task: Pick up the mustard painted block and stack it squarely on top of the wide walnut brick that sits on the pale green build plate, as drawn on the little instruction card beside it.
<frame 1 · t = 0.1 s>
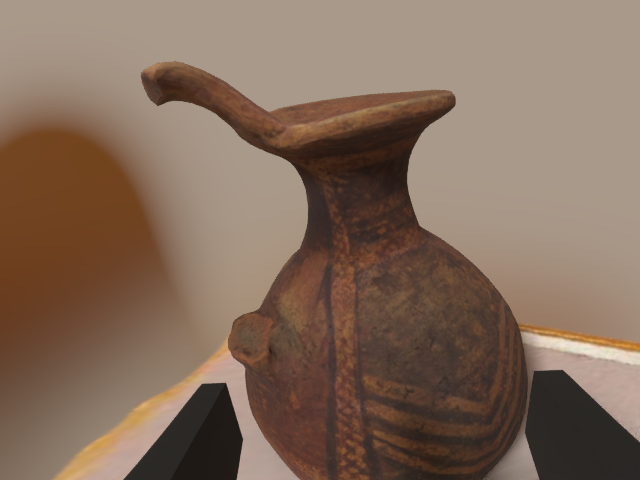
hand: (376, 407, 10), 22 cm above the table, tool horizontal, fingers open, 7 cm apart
jug: (381, 424, 37), on the table
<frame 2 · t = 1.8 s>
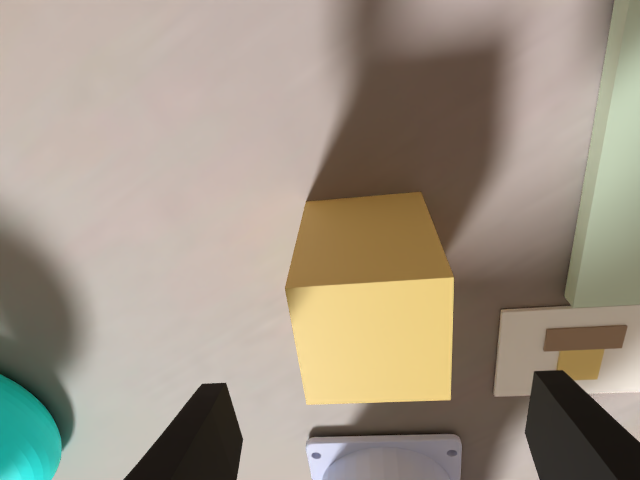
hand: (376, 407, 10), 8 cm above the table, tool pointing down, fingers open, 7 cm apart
instruction card: (578, 350, 19), on the table
top brick: (366, 246, 18), on the table
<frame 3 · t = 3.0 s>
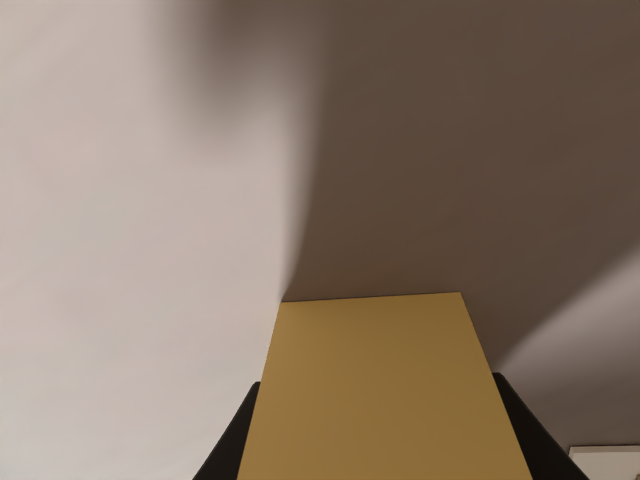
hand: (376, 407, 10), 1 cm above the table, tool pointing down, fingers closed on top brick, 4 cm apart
top brick: (373, 364, 12), on the table, touching gripper
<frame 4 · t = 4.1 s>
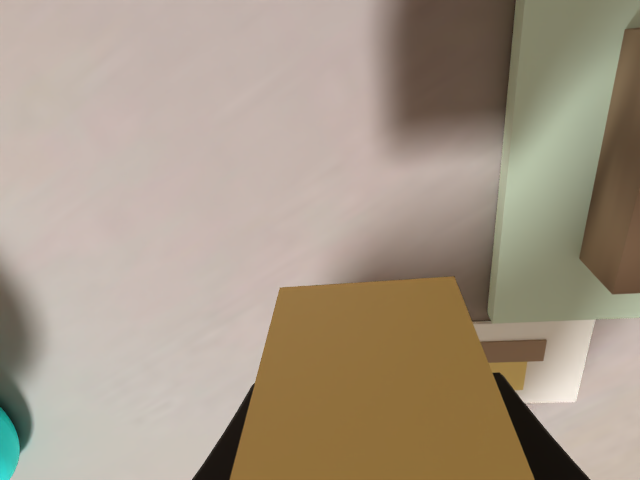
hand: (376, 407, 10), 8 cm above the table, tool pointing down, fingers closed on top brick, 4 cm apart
instruction card: (504, 362, 20), on the table
top brick: (370, 348, 12), point 7 cm above the table, touching gripper
when the fingers open (6 cm above the table, at t = 5.6 s): top brick stays where it is, resting on base brick.
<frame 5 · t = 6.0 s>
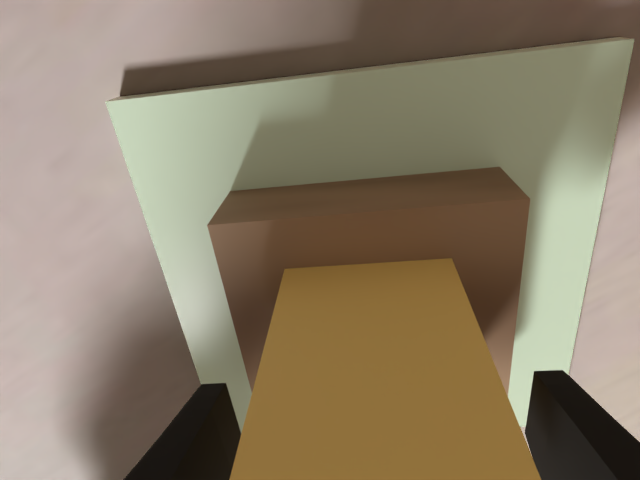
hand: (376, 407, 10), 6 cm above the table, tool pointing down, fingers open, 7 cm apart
build plate: (368, 277, 15), on the table
base brick: (369, 290, 15), point 1 cm above the table, touching build plate, top brick
top brick: (371, 329, 12), point 3 cm above the table, touching base brick
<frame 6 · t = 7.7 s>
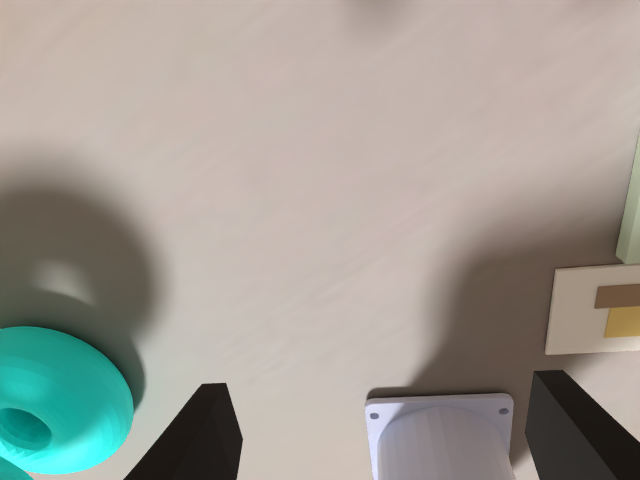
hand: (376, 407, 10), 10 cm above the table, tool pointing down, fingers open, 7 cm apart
instruction card: (626, 308, 21), on the table
donuts: (61, 380, 26), on the table
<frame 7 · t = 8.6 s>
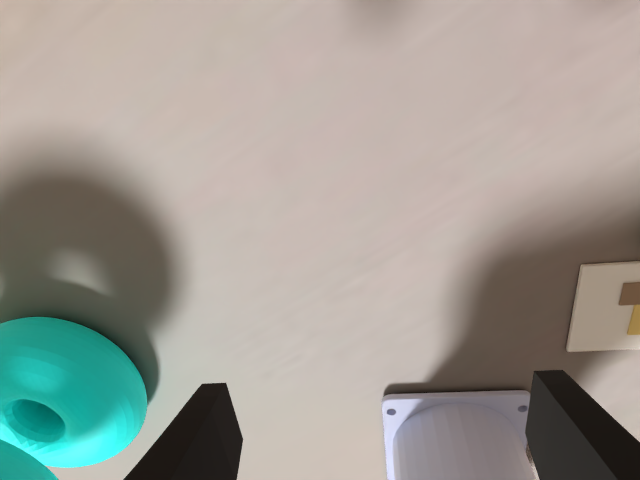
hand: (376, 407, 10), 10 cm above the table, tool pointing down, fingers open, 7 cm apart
donuts: (74, 372, 26), on the table
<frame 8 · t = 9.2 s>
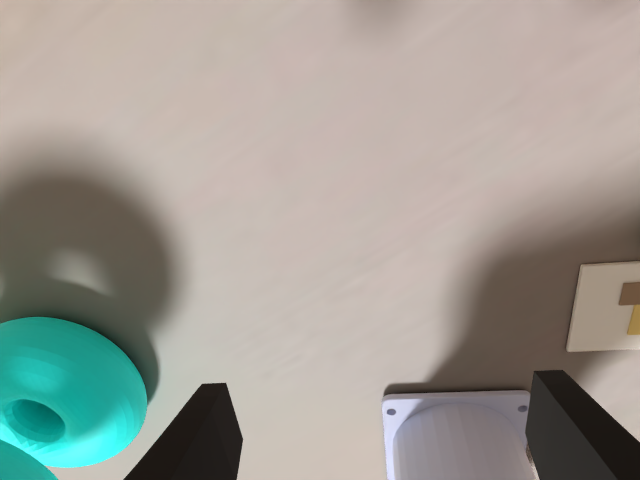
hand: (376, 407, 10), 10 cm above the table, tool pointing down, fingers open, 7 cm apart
donuts: (74, 372, 26), on the table
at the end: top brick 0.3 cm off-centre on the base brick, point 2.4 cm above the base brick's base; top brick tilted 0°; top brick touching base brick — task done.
